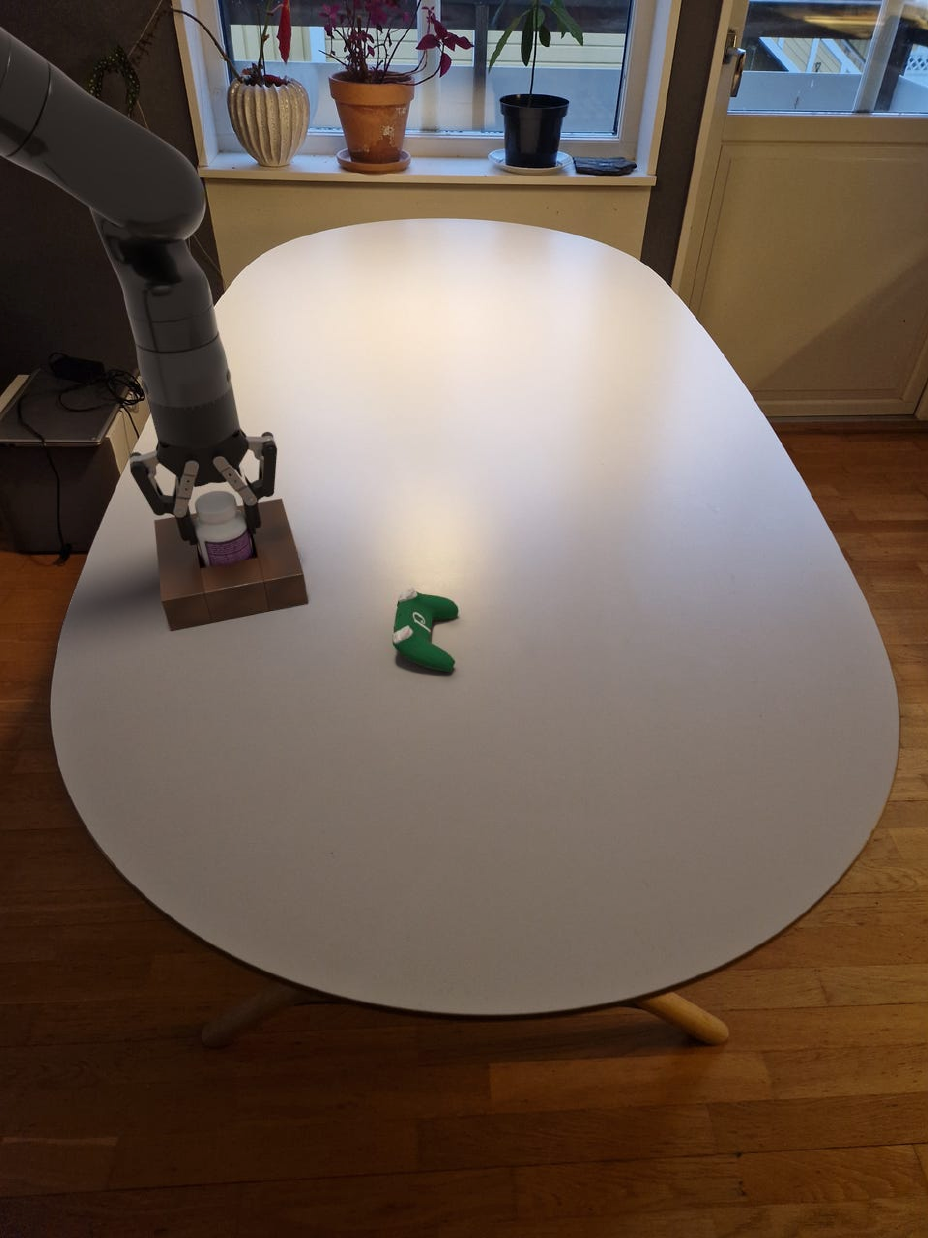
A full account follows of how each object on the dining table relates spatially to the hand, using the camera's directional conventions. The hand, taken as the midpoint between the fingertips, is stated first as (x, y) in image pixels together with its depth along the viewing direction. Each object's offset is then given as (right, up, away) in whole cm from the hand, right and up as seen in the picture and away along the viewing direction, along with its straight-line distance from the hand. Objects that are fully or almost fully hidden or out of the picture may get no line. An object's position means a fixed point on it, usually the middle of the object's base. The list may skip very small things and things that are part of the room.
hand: (222, 534), depth 88 cm
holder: (0, -4, +4) cm, 5 cm away
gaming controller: (+21, -11, -3) cm, 24 cm away
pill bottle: (0, -4, +4) cm, 6 cm away
